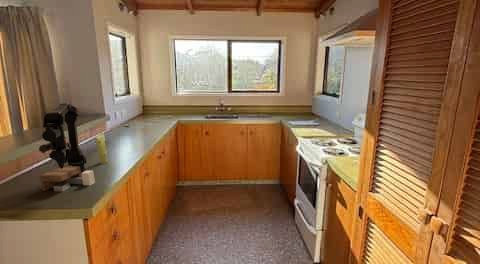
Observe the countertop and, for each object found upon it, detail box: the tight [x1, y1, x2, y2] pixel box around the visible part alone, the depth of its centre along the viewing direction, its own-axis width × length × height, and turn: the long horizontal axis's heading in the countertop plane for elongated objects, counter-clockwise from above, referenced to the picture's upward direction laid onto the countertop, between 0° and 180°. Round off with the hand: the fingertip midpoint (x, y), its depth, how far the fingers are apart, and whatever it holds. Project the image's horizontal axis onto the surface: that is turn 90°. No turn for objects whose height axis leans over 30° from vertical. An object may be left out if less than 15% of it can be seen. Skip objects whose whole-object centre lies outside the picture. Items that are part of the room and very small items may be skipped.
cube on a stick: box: [64, 169, 96, 186], centre depth 145 cm, size 4×16×7 cm, turn 82°
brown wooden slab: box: [39, 165, 82, 192], centre depth 143 cm, size 14×12×8 cm
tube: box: [94, 133, 109, 164], centre depth 177 cm, size 6×5×20 cm
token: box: [52, 181, 71, 192], centre depth 139 cm, size 5×5×3 cm
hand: (63, 165), depth 137 cm, fingers open, 9 cm apart
